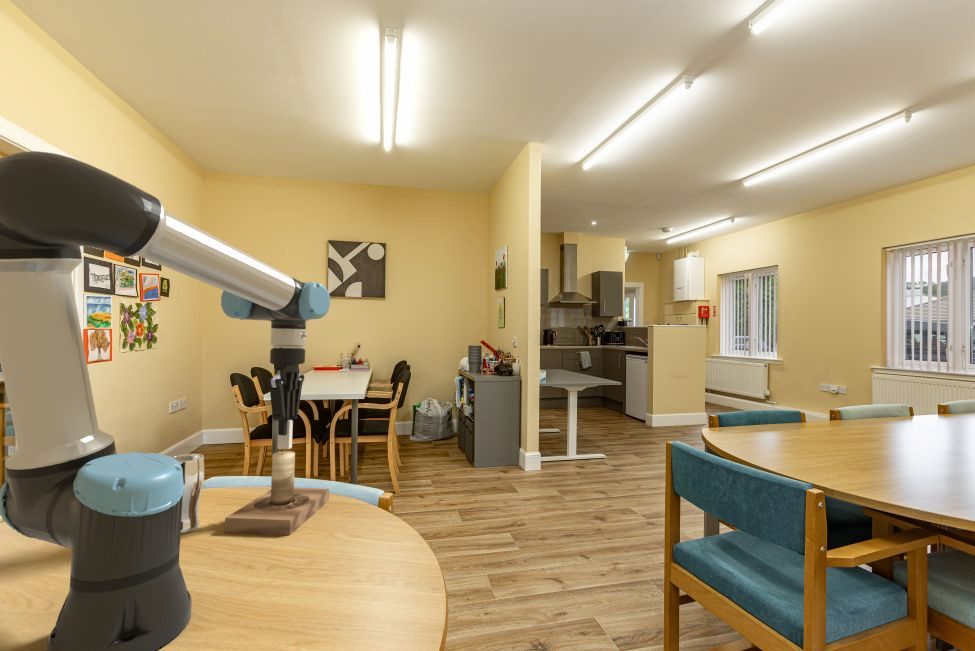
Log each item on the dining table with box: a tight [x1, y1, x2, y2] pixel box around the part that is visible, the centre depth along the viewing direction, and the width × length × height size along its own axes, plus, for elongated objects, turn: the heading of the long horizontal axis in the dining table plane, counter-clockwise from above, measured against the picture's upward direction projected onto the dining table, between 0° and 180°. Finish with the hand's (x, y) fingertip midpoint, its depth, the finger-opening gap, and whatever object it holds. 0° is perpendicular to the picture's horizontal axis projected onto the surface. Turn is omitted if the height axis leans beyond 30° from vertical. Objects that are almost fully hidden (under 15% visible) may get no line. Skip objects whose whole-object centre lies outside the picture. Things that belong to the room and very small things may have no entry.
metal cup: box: [171, 453, 205, 535], centre depth 94 cm, size 7×7×15 cm
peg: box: [270, 450, 296, 506], centre depth 102 cm, size 5×5×14 cm
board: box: [224, 487, 330, 536], centre depth 102 cm, size 20×14×3 cm
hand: (284, 448), depth 103 cm, fingers closed
